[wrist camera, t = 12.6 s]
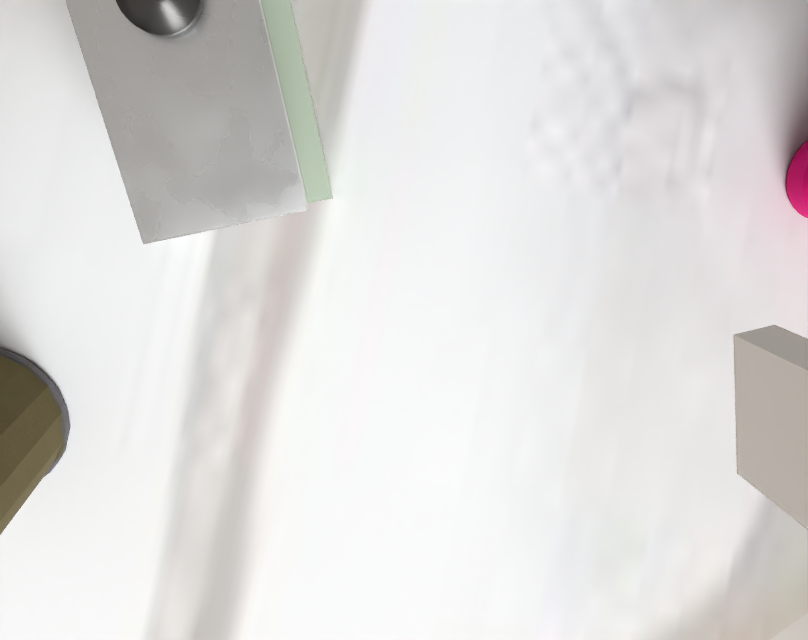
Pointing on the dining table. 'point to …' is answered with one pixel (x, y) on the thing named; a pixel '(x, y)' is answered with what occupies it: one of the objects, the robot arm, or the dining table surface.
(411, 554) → the dining table surface
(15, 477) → the canister
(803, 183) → the pepper mill
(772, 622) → the dining table surface
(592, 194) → the dining table surface
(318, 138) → the stand
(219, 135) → the cover plate
